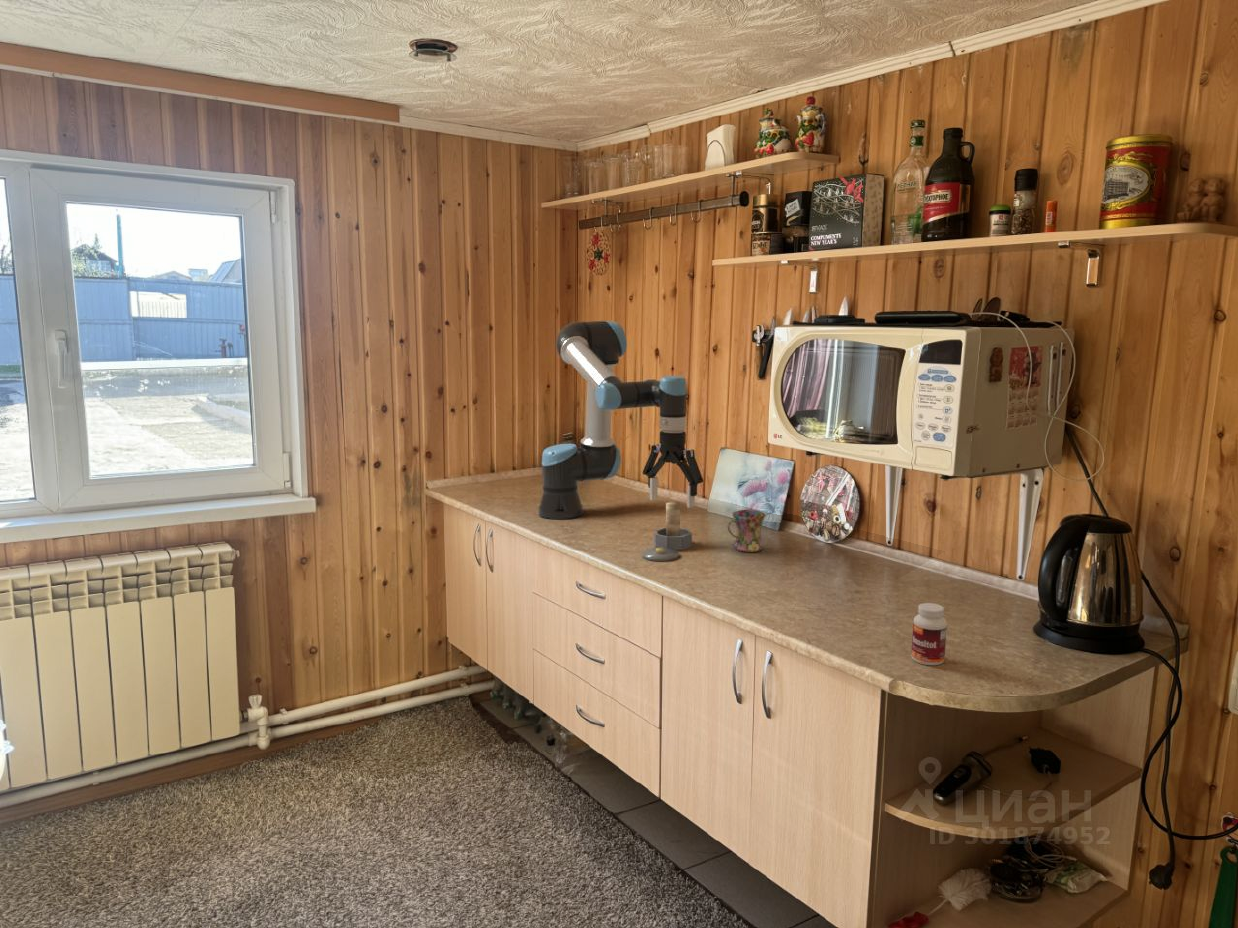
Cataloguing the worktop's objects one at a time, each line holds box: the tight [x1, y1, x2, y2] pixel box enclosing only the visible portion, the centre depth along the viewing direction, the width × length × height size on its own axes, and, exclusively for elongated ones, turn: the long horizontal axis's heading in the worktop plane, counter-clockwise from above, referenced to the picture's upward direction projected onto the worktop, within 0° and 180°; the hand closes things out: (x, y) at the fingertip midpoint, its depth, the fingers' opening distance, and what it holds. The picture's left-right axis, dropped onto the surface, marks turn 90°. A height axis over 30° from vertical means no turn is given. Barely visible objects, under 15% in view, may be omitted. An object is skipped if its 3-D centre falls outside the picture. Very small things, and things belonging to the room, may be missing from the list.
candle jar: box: [653, 527, 693, 551], centre depth 251 cm, size 11×11×4 cm
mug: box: [726, 509, 766, 553], centre depth 245 cm, size 12×9×11 cm
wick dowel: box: [665, 501, 681, 536], centre depth 250 cm, size 4×4×12 cm
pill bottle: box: [910, 602, 948, 666], centre depth 168 cm, size 6×6×11 cm
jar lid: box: [641, 547, 679, 562], centre depth 241 cm, size 10×10×2 cm
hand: (671, 502), depth 250 cm, fingers open, 13 cm apart
